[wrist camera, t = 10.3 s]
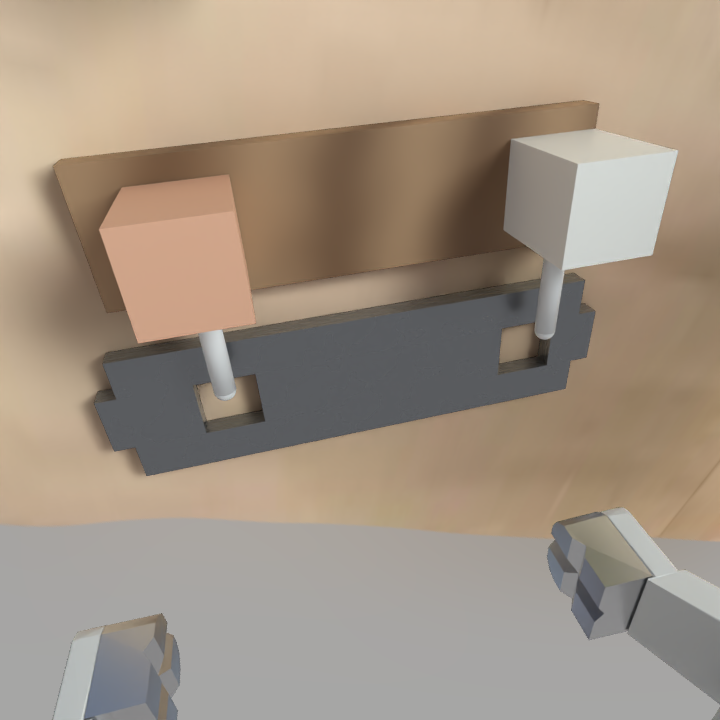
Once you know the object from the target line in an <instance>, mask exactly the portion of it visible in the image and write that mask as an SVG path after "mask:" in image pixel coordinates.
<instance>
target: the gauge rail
mask: <svg viewBox="0 0 720 720" xmlns="http://www.w3.org/2000/svg"><path fill="white" fill-rule="evenodd" d="M598 109H599V103H594V102H589V101H584V100H582V101H573V102H564V103H555V104H546V105H537V106H529V107H520V108H511V109H502V110H493V111H484V112H475V113H467V114H458V115H449V116H440V117H431V118H422V119H413V120H405V121H396V122H387V123H378V124H369V125H360V126H351V127H343V128H334V129H325V130H316V131H307V132H298V133H289V134H281V135H272V136H263V137H254V138H245V139H236V140H227V141H219V142H210V143H201V144H192V145H183V146H174V147H165V148H157V149H148V150H139V151H130V152H121V153H112V154H103V155H95V156H86V157H77V158H68V159H60V160H59V161H58V162H57V163H56V164H55V165H54V166H53V168H54V170H55V173H56V176H57V179H58V181H59V184H60V187H61V189H62V192H63V195H64V198H65V200H66V203H67V206H68V208H69V211H70V214H71V217H72V219H73V222H74V225H75V228H76V230H77V233H78V236H79V238H80V241H81V244H82V247H83V249H84V252H85V255H86V258H87V260H88V263H89V266H90V268H91V271H92V274H93V277H94V279H95V282H96V285H97V287H98V290H99V293H100V296H101V298H102V301H103V304H104V307H105V309H106V312H107V313H111V312H117V311H123V310H126V307H125V304H124V301H123V298H122V295H121V292H120V289H119V287H118V284H117V281H116V278H115V275H114V272H113V269H112V266H111V263H110V260H109V257H108V254H107V252H106V249H105V246H104V243H103V240H102V237H101V234H100V231H99V228H100V226H101V224H102V223H103V221H104V219H105V217H106V215H107V213H108V212H109V210H110V208H111V206H112V204H113V202H114V201H115V199H116V197H117V195H118V193H119V191H120V190H121V188H122V187H129V186H138V185H146V184H154V183H162V182H170V181H178V180H186V179H194V178H203V177H211V176H219V175H227V174H229V177H230V182H231V187H232V192H233V197H234V202H235V208H236V213H237V218H238V223H239V228H240V233H241V238H242V244H243V249H244V254H245V259H246V264H247V269H248V276H249V282H250V288H251V290H255V289H262V288H268V287H274V286H280V285H287V284H293V283H299V282H306V281H312V280H318V279H324V278H331V277H337V276H343V275H350V274H356V273H362V272H368V271H375V270H381V269H387V268H394V267H400V266H406V265H412V264H419V263H425V262H431V261H438V260H444V259H450V258H456V257H463V256H469V255H475V254H482V253H488V252H494V251H500V250H507V249H513V248H519V247H526V245H524V244H523V243H521V242H520V241H519V240H517V239H516V238H514V237H513V236H511V235H510V234H508V233H507V232H506V231H504V230H503V229H504V217H505V205H506V193H507V181H508V169H509V157H510V145H511V139H515V138H523V137H531V136H539V135H548V134H556V133H564V132H572V131H580V130H588V129H595V128H596V122H597V116H598Z"/></svg>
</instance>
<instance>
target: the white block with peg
mask: <svg viewBox="0 0 720 720" xmlns="http://www.w3.org/2000/svg"><path fill="white" fill-rule="evenodd" d="M677 154H678V150H674V149H671V148H667V147H663V146H659V145H655V144H652V143H648V142H644V141H640V140H636V139H633V138H629V137H625V136H621V135H618V134H614V133H610V132H606V131H602V130H599V129H588V130H580V131H572V132H564V133H556V134H548V135H539V136H531V137H523V138H515V139H511V145H510V157H509V169H508V181H507V193H506V205H505V217H504V229H503V230H504V231H506V232H507V233H508V234H510V235H511V236H513V237H514V238H516V239H517V240H519V241H520V242H521V243H523V244H524V245H526V246H527V247H529V248H530V249H532V250H533V251H534V252H536V253H537V254H539V255H540V256H542V257H543V258H544V259H543V267H542V274H541V282H540V290H539V297H538V305H537V313H536V320H535V328H534V331H535V334H536V336H537V337H538V338H540V339H544V340H546V339H549V338H551V337H552V336H553V335H554V333H555V329H556V323H557V317H558V310H559V304H560V297H561V291H562V284H563V278H564V272H565V270H568V269H574V268H580V267H585V266H591V265H597V264H603V263H609V262H615V261H621V260H627V259H633V258H639V257H645V256H651V255H653V250H654V246H655V242H656V238H657V234H658V230H659V226H660V222H661V218H662V214H663V210H664V206H665V202H666V198H667V194H668V190H669V186H670V182H671V178H672V174H673V170H674V166H675V162H676V158H677Z"/></svg>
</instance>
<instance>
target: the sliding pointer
mask: <svg viewBox="0 0 720 720" xmlns="http://www.w3.org/2000/svg"><path fill="white" fill-rule="evenodd" d="M99 231H100V234H101V237H102V240H103V243H104V246H105V249H106V252H107V254H108V257H109V260H110V263H111V266H112V269H113V272H114V275H115V278H116V281H117V284H118V287H119V289H120V292H121V295H122V298H123V301H124V304H125V307H126V310H127V313H128V316H129V319H130V321H131V324H132V327H133V330H134V333H135V336H136V339H137V342H138V343H144V342H150V341H156V340H162V339H167V338H173V337H179V336H185V335H191V334H197V333H198V335H199V339H200V342H201V346H202V350H203V354H204V357H205V361H206V365H207V369H208V372H209V376H210V380H211V383H212V387H213V391H214V394H215V396H216V397H217V398H218V399H220V400H223V401H227V400H230V399H231V398H233V397H234V395H235V393H236V385H235V381H234V377H233V372H232V368H231V364H230V360H229V356H228V351H227V347H226V343H225V339H224V335H223V330H222V329H227V328H232V327H238V326H244V325H250V324H256V320H255V314H254V308H253V301H252V295H251V288H250V282H249V276H248V269H247V264H246V259H245V254H244V249H243V244H242V238H241V233H240V228H239V223H238V218H237V213H236V208H235V202H234V197H233V192H232V187H231V182H230V177H229V174H227V175H219V176H211V177H203V178H194V179H186V180H178V181H170V182H162V183H154V184H146V185H138V186H129V187H122V188H121V190H120V191H119V193H118V195H117V197H116V199H115V201H114V202H113V204H112V206H111V208H110V210H109V212H108V213H107V215H106V217H105V219H104V221H103V223H102V224H101V226H100V228H99Z"/></svg>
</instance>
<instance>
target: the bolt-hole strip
mask: <svg viewBox="0 0 720 720" xmlns="http://www.w3.org/2000/svg"><path fill="white" fill-rule="evenodd" d="M540 282H541V279H536V280H530V281H524V282H519V283H513V284H507V285H501V286H495V287H489V288H483V289H477V290H472V291H466V292H460V293H454V294H448V295H442V296H436V297H431V298H425V299H419V300H413V301H407V302H401V303H395V304H390V305H384V306H378V307H372V308H366V309H360V310H354V311H348V312H343V313H337V314H331V315H325V316H319V317H313V318H307V319H302V320H296V321H290V322H284V323H278V324H272V325H266V326H260V327H255V328H249V329H243V330H237V331H231V332H225V333H223V335H224V339H225V343H226V347H227V351H228V356H229V360H230V364H231V368H232V372H233V377H234V378H236V377H242V376H247V375H253V374H255V375H256V380H257V384H258V389H259V394H260V399H261V403H262V408H263V410H261V411H256V412H251V413H246V414H241V415H236V416H231V417H226V418H220V419H215V420H210V421H206V417H205V414H204V410H203V407H202V403H201V400H200V396H199V393H198V389H197V386H196V385H198V384H204V383H209V382H211V380H210V376H209V372H208V369H207V365H206V361H205V357H204V354H203V350H202V346H201V342H200V339H199V337H196V338H190V339H184V340H178V341H173V342H167V343H161V344H155V345H149V346H143V347H137V348H131V349H126V350H120V351H114V352H108V353H106V354H105V357H104V361H103V367H104V370H105V372H106V375H107V377H108V380H109V382H110V385H111V387H112V389H109V390H104V391H98V392H97V396H96V399H95V402H94V405H95V407H96V410H97V412H98V414H99V417H100V419H101V421H102V424H103V426H104V428H105V431H106V433H107V435H108V438H109V440H110V442H111V445H112V447H113V449H114V452H115V451H120V450H125V449H130V448H136V450H137V453H138V455H139V458H140V460H141V463H142V466H143V468H144V471H145V473H146V476H150V475H155V474H159V473H164V472H169V471H174V470H179V469H183V468H188V467H193V466H198V465H202V464H207V463H212V462H217V461H222V460H226V459H231V458H236V457H241V456H246V455H250V454H255V453H260V452H265V451H270V450H274V449H279V448H284V447H289V446H293V445H298V444H303V443H308V442H313V441H317V440H322V439H327V438H332V437H337V436H341V435H346V434H351V433H356V432H361V431H365V430H370V429H375V428H380V427H384V426H389V425H394V424H399V423H404V422H408V421H413V420H418V419H423V418H428V417H432V416H437V415H442V414H447V413H452V412H456V411H461V410H466V409H471V408H476V407H480V406H485V405H490V404H495V403H499V402H504V401H509V400H514V399H519V398H523V397H528V396H533V395H538V394H543V393H547V392H552V391H557V390H562V389H566V383H567V378H568V372H569V367H570V361H571V360H576V359H581V358H586V357H587V352H588V346H589V341H590V336H591V331H592V326H593V321H594V316H595V310H593V309H592V308H591V307H589V306H588V305H586V304H585V303H584V304H581V300H582V294H583V289H584V283H585V280H584V279H582V278H581V277H579V276H578V275H576V274H575V273H571V274H565V275H564V278H563V284H562V291H561V297H560V304H559V310H558V317H557V323H556V329H555V333H554V335H553V336H552V337H551V338H549V339H546V340H544V339H540V343H539V351H538V356H537V357H532V358H526V359H521V360H516V361H511V362H506V363H501V364H499V355H500V344H501V333H502V328H507V327H512V326H518V325H523V324H529V323H534V322H535V320H536V313H537V305H538V297H539V290H540Z"/></svg>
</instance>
